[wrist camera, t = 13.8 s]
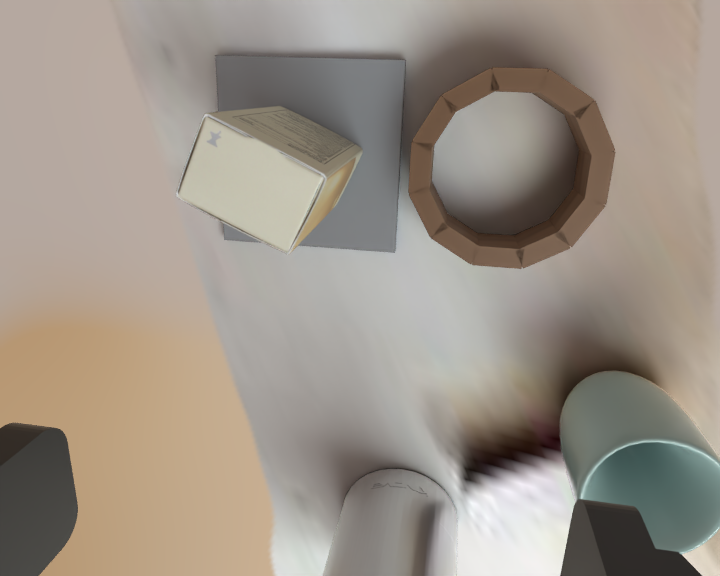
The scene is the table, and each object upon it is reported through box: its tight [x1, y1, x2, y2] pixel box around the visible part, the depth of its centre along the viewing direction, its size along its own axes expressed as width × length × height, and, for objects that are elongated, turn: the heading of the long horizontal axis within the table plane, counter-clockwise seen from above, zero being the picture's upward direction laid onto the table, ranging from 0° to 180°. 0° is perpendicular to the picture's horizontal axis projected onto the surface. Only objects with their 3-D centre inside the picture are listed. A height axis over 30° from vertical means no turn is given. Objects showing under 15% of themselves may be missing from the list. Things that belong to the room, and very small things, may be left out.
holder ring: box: [408, 67, 615, 269], centre depth 34 cm, size 11×11×4 cm
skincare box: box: [176, 106, 363, 254], centre depth 31 cm, size 6×4×12 cm
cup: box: [559, 370, 720, 554], centre depth 35 cm, size 8×8×10 cm
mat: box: [215, 55, 406, 253], centre depth 37 cm, size 12×12×1 cm
